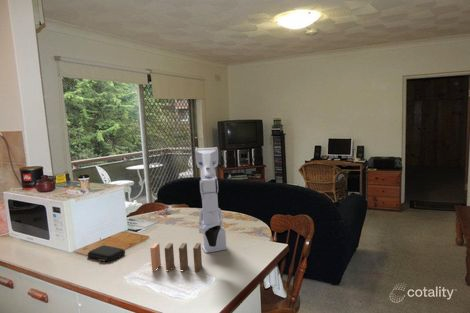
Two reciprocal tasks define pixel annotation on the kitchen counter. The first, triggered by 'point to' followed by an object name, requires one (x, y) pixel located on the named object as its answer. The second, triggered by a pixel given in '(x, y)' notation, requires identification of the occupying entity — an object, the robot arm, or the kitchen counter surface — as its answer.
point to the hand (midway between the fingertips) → (212, 245)
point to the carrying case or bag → (106, 253)
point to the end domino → (155, 256)
